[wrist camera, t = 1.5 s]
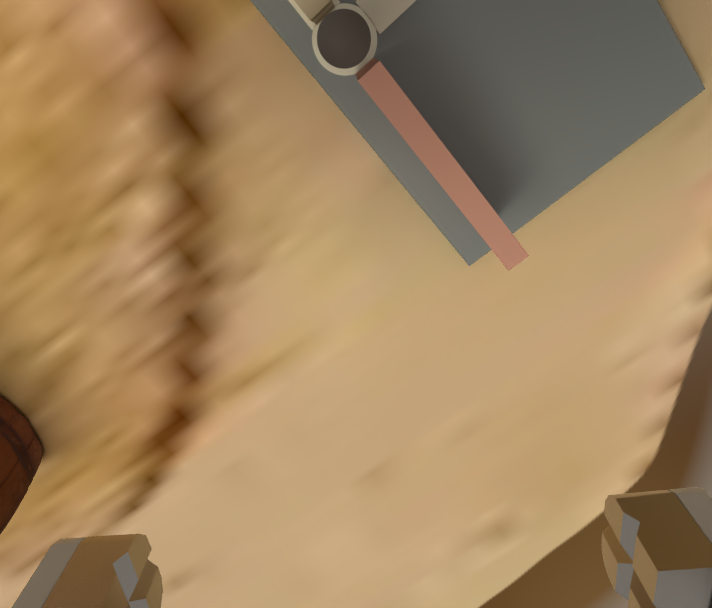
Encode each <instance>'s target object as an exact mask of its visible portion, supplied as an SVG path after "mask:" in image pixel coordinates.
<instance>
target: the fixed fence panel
mask: <svg viewBox="0 0 712 608" xmlns="http://www.w3.org/2000/svg"><path fill="white" fill-rule="evenodd" d="M294 1H295V2H296V3H297V5H298V6H299V7H300V8H301V10H302V11H303V12H304V13H305V15H306V16H307V17H308V19H309V20H310V21H312V22H313V23H315V24H316V25H318V24H319V23H320V22H321V21H322V22H321V23H320V25H319V28H318V32H317V45H318V49H319V51H320V54H321V55H322V57H323V58H324V59H325V61H326V62H328V63H329V64H330V65H332V66H334V67H337V68H341V69H347V68H352V67H354V66H356V65H358V64H359V63H361V62H362V61H363V60H364V58H365V57H366V55H367V54H368V51H369V49H370V45H371V33H370V29H369V26H368V24H367V22H366V21H365V19H364V18H363V17H362V16H361V15H360V14H358V13H357V12H355V11H353V10H350V9H338V10H334V11H332V10H333V9H334V8H335V7H334V4H333V1H332V0H294ZM331 11H332V12H331ZM330 12H331V13H330Z"/></svg>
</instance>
